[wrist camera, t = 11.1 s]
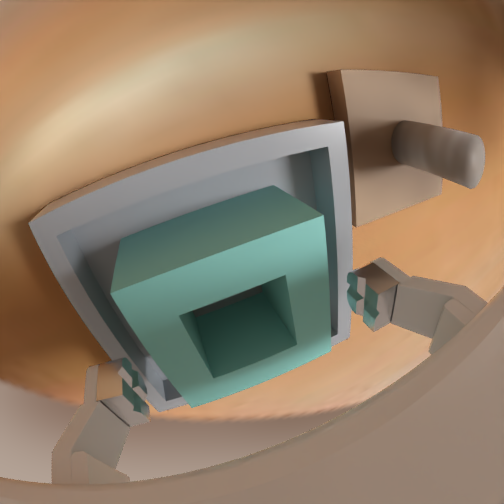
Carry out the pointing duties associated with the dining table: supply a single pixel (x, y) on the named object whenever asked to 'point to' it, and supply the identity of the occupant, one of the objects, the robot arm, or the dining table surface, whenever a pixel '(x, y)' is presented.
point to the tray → (185, 201)
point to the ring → (228, 292)
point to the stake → (399, 141)
